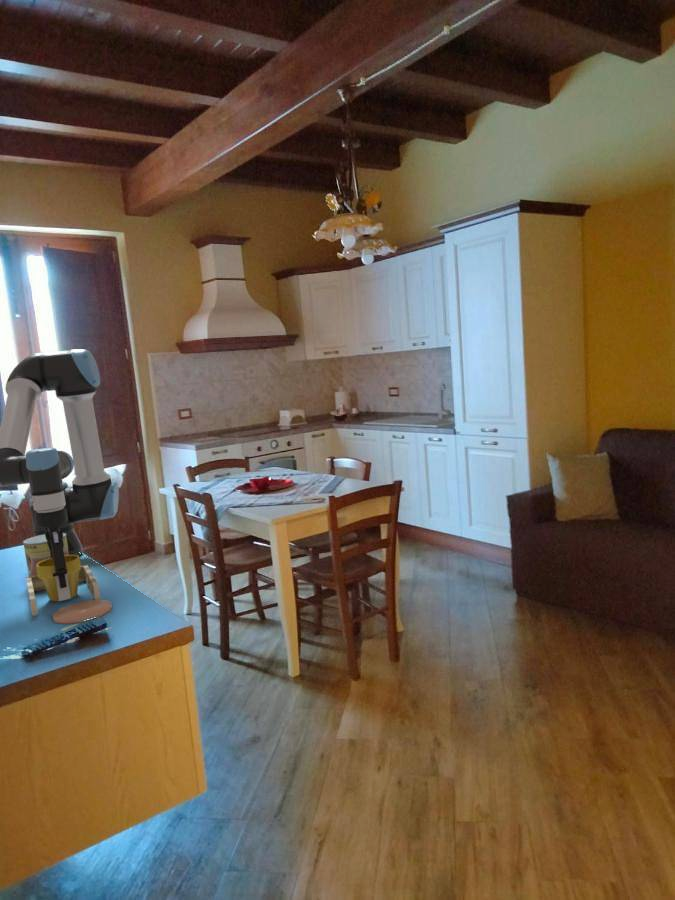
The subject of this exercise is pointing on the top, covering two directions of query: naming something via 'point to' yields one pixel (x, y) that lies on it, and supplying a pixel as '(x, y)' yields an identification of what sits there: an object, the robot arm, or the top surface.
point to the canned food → (39, 551)
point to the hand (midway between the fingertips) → (62, 593)
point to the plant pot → (46, 575)
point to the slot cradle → (84, 575)
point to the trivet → (82, 611)
